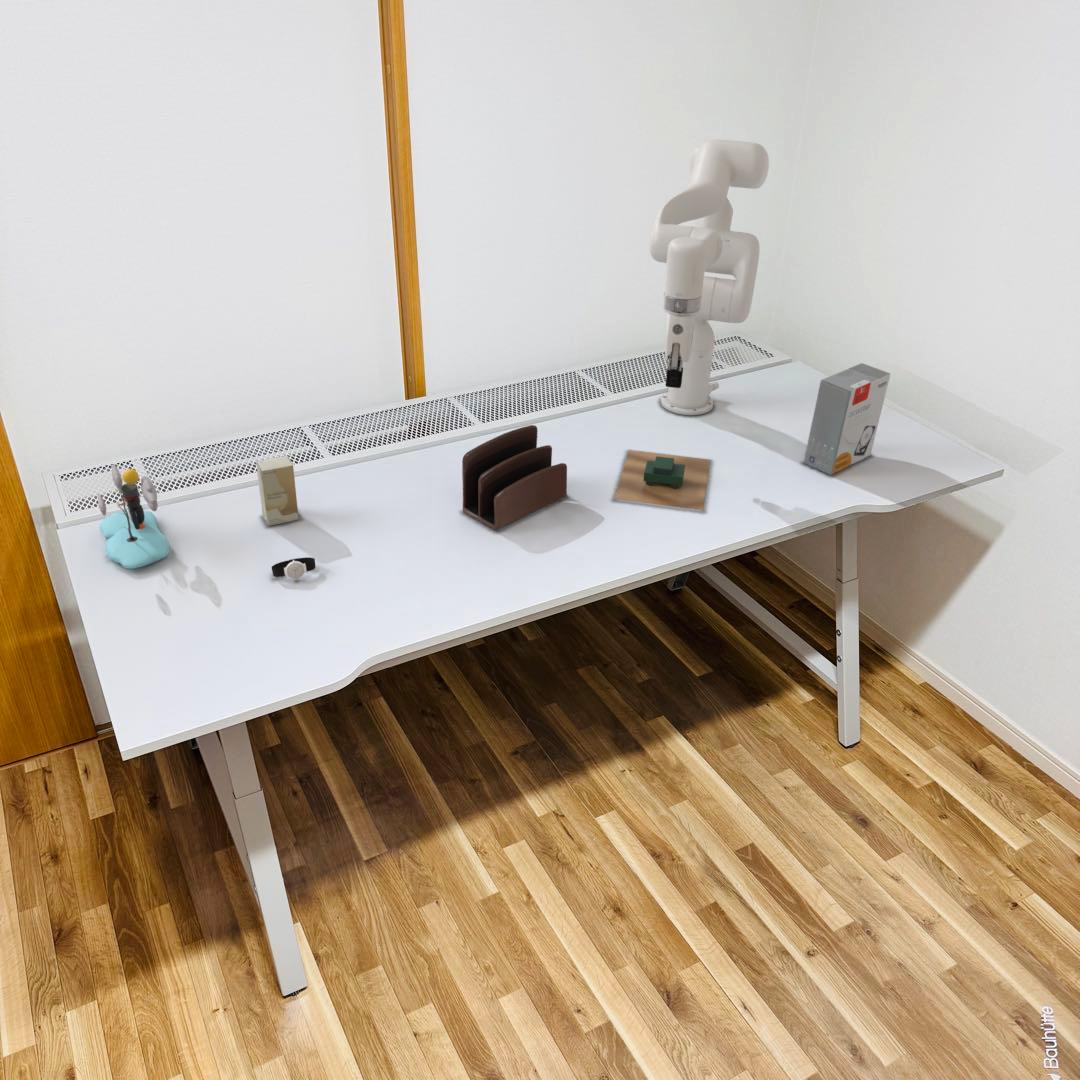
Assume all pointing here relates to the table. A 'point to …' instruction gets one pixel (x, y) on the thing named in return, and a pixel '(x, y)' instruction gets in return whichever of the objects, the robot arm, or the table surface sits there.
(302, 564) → the watch
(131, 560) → the winged figurine
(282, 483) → the cosmetic box
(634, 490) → the wooden board
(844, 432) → the hard drive box
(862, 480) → the table surface
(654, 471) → the green box with feet
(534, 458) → the letter holder
